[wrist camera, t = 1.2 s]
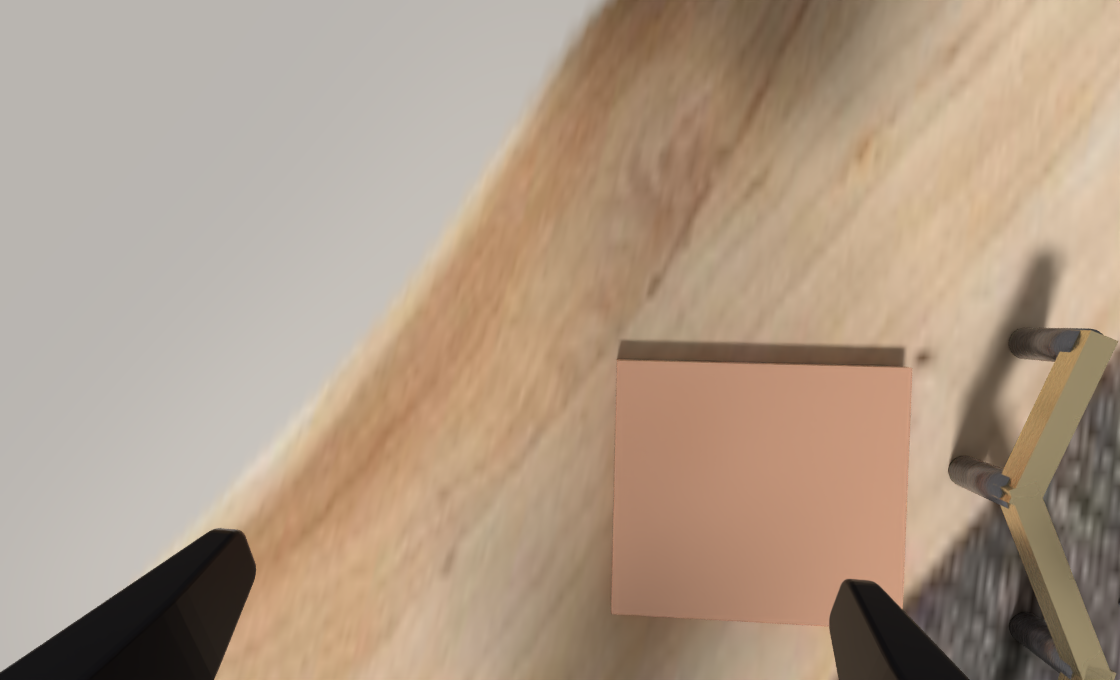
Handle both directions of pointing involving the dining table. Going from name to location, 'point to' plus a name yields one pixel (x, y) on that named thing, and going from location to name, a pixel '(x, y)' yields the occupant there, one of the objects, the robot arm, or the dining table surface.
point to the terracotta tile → (757, 487)
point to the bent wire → (1022, 489)
